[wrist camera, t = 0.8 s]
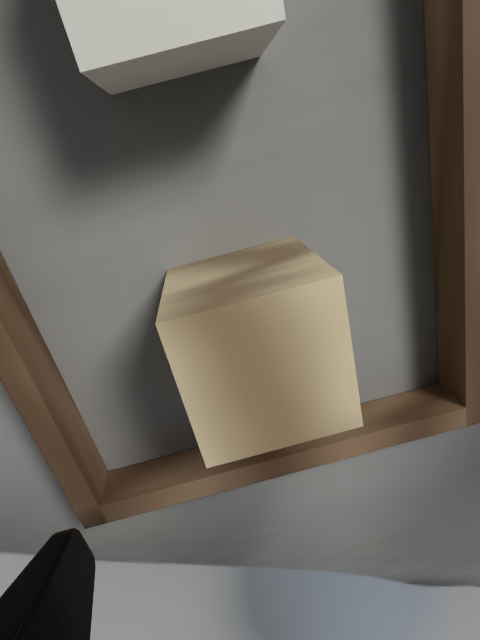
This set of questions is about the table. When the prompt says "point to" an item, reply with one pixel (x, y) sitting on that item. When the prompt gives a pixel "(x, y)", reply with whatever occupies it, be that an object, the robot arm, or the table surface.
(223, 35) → the plain short box
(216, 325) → the labelled birch box
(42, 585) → the robot arm
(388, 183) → the table surface
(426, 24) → the walnut tray
